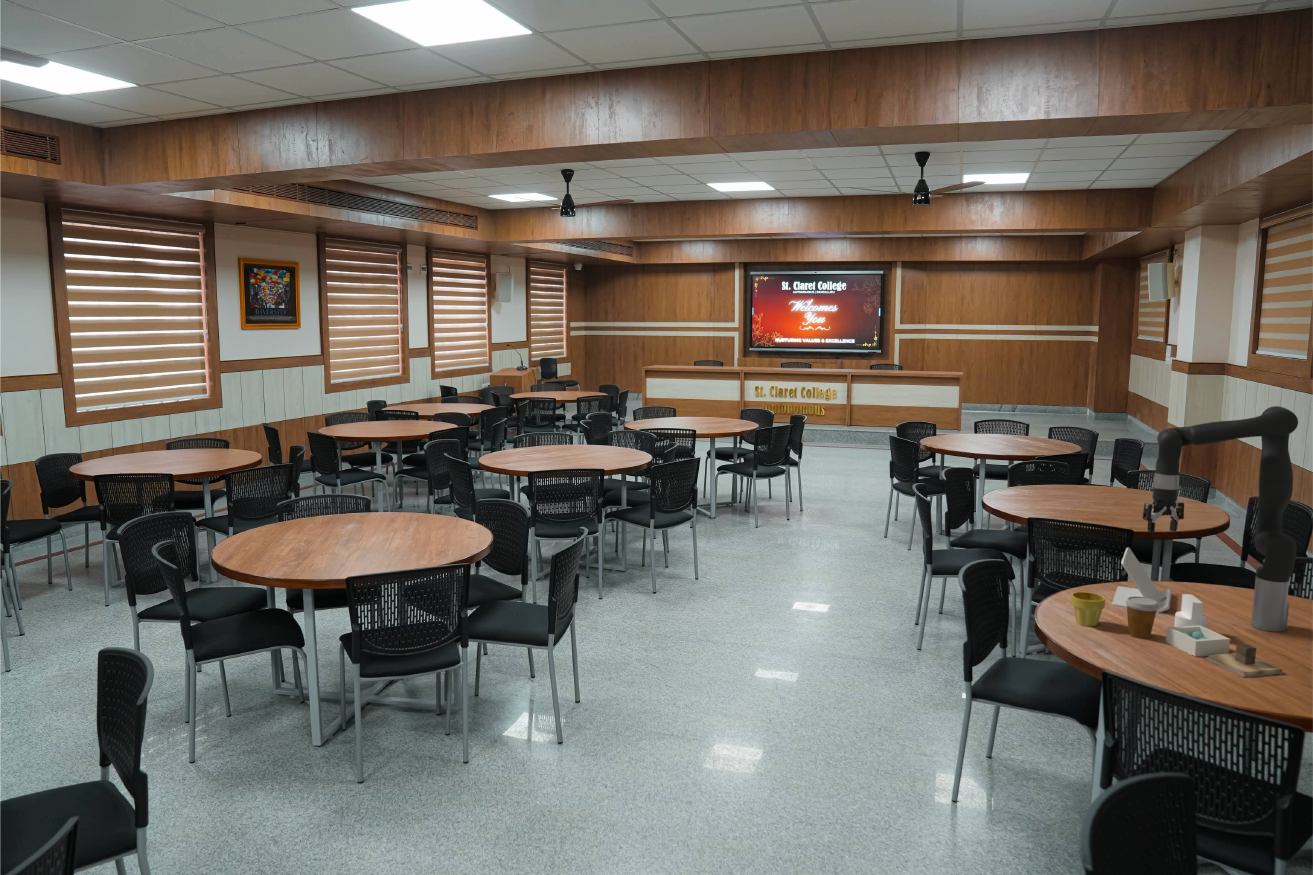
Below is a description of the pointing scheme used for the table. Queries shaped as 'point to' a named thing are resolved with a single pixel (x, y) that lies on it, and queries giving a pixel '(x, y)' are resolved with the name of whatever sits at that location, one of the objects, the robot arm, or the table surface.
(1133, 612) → the disposable coffee cup
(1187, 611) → the white knob
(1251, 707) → the table surface
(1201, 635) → the ball
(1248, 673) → the lid
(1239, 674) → the mat
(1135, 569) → the tablet stand
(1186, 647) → the box
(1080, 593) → the plant pot
